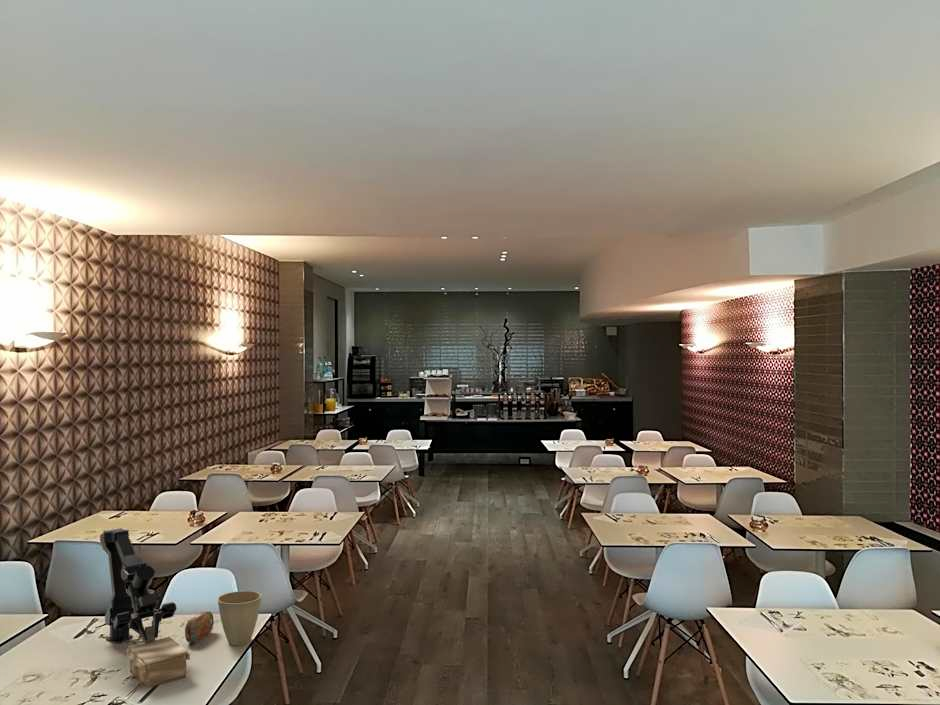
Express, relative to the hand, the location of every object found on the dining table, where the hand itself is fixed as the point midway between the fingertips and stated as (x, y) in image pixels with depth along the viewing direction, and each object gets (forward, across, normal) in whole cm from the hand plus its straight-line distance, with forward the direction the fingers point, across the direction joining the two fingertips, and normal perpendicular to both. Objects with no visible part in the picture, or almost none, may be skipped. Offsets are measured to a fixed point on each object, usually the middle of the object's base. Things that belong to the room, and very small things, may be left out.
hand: (151, 638), depth 240 cm
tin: (-4, +22, +18) cm, 29 cm away
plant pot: (+5, +31, +9) cm, 33 cm away
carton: (+11, 0, +2) cm, 11 cm away
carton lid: (+7, 0, -1) cm, 8 cm away
